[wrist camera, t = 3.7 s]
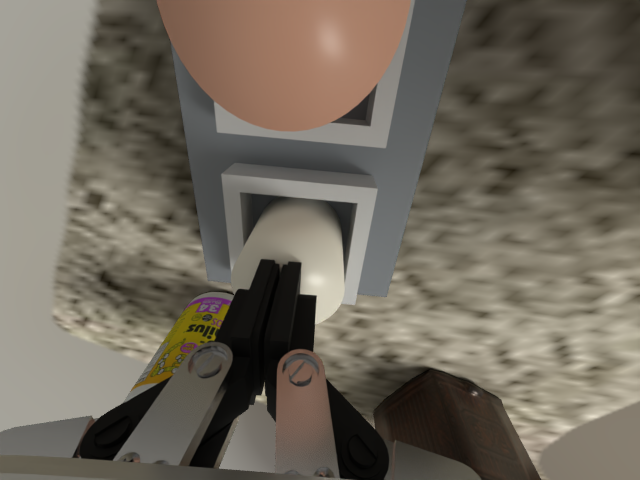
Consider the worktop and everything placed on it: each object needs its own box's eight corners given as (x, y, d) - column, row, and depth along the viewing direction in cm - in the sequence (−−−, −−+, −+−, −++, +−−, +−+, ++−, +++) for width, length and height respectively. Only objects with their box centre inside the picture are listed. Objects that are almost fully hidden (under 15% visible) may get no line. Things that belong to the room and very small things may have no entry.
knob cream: (346, 196, 15) (352, 245, 10) (336, 269, 17) (337, 332, 13) (257, 188, 15) (225, 233, 10) (259, 261, 17) (235, 323, 13)
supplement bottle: (273, 313, 25) (226, 496, 14) (237, 349, 28) (174, 526, 17) (207, 275, 23) (93, 453, 12) (176, 318, 26) (59, 494, 15)
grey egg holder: (451, -54, 13) (531, -144, 8) (378, 262, 22) (392, 319, 17) (193, -79, 13) (98, -188, 8) (227, 248, 22) (195, 301, 17)
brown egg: (389, -58, 8) (451, -211, 4) (363, 116, 11) (384, 140, 6) (229, -74, 8) (114, -245, 4) (240, 104, 11) (175, 121, 6)
